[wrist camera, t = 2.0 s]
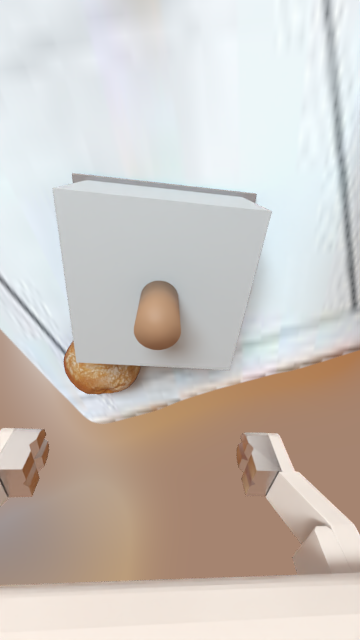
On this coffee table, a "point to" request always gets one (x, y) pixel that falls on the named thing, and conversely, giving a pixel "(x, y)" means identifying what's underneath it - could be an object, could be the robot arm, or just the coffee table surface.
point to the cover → (157, 272)
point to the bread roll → (98, 375)
